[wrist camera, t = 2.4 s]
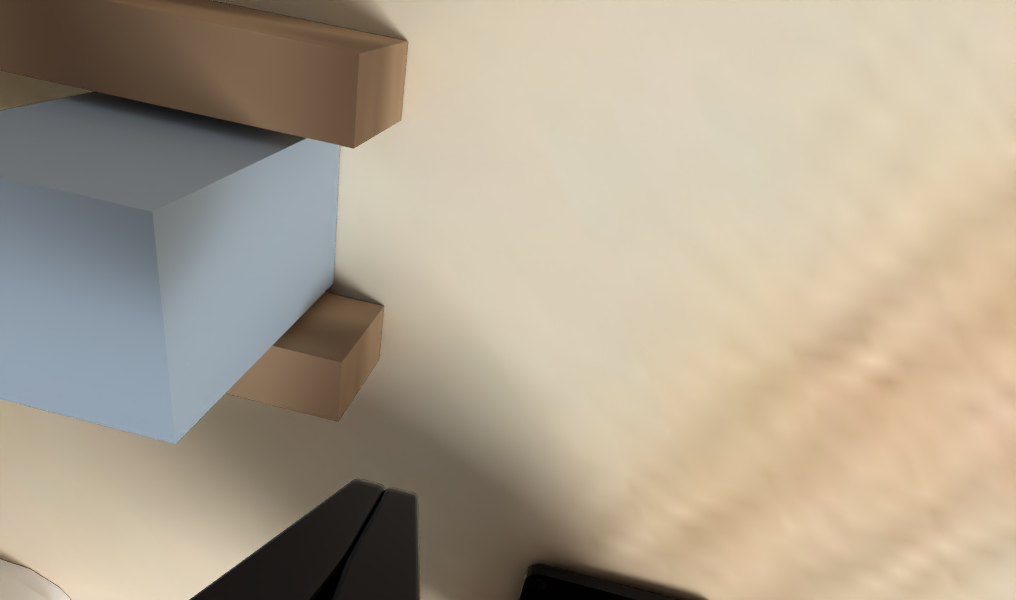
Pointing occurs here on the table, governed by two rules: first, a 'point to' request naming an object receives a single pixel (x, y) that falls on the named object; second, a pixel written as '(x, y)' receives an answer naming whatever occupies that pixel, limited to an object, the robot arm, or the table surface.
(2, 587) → the foam cup
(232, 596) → the robot arm
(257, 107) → the u-shaped frame
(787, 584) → the table surface
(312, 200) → the block
